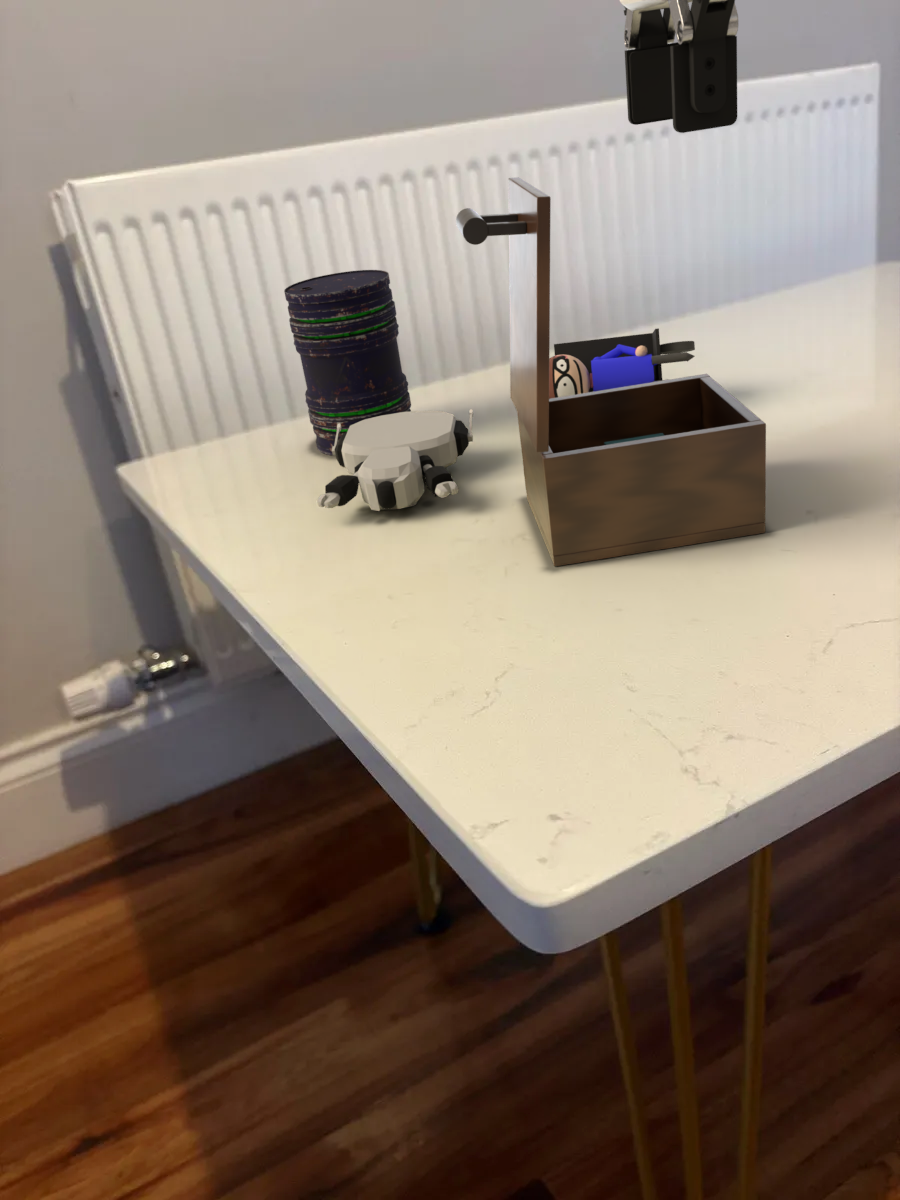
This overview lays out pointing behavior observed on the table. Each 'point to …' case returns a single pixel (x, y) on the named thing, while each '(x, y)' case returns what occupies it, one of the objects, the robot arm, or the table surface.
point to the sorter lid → (524, 297)
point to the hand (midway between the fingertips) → (678, 124)
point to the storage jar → (347, 350)
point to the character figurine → (612, 363)
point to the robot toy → (397, 459)
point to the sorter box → (646, 470)
